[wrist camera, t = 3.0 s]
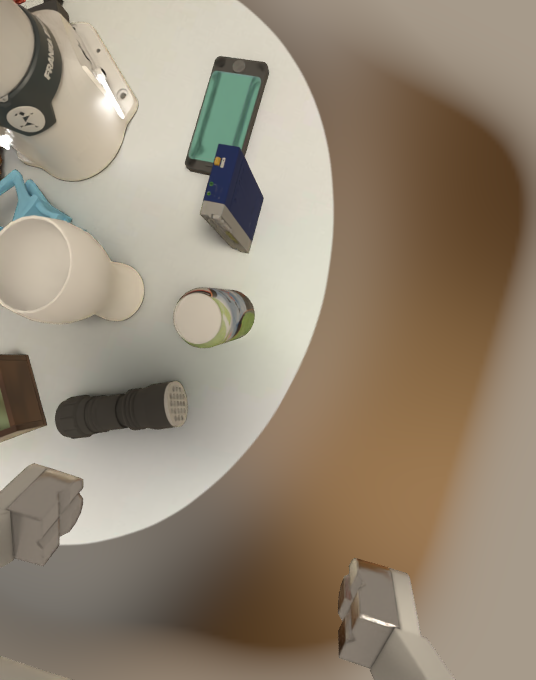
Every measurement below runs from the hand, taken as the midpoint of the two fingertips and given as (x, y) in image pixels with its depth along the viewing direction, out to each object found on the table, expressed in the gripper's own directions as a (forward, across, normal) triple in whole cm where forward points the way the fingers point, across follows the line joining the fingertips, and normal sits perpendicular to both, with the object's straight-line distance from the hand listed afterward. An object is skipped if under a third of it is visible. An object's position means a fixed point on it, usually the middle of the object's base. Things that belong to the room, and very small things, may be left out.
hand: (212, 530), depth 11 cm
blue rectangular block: (+42, +8, -3) cm, 43 cm away
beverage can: (+37, +7, +9) cm, 38 cm away
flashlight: (+32, +16, +22) cm, 42 cm away
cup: (+38, +23, +10) cm, 46 cm away
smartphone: (+48, +14, -14) cm, 52 cm away
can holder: (+32, +35, +27) cm, 55 cm away
